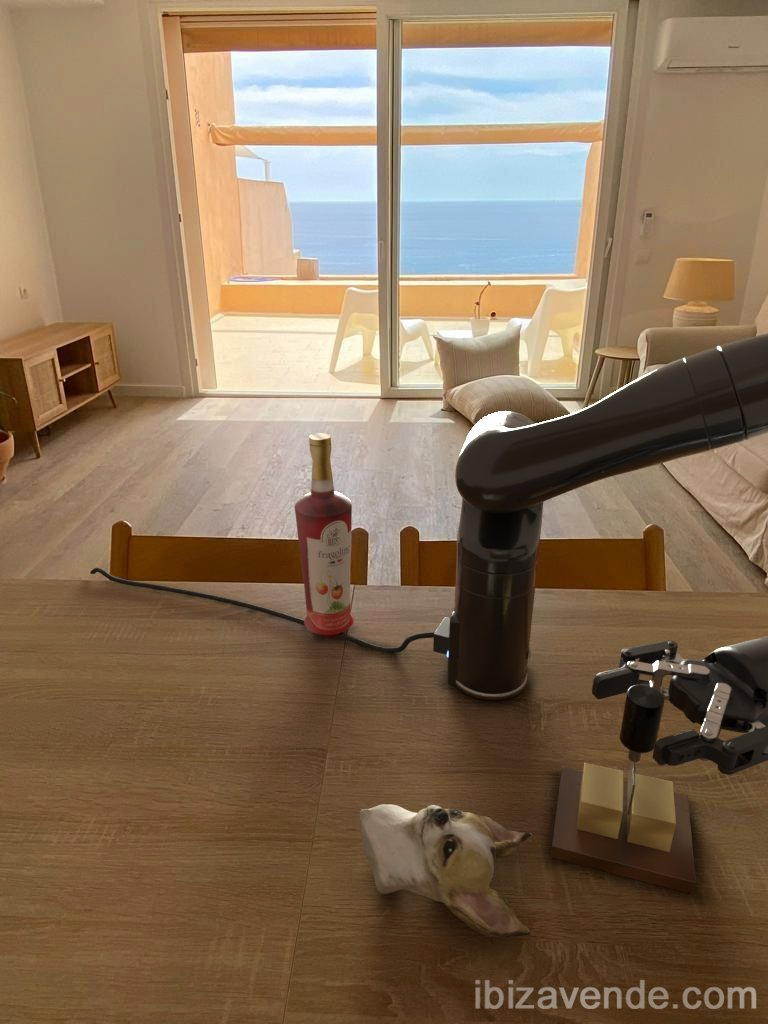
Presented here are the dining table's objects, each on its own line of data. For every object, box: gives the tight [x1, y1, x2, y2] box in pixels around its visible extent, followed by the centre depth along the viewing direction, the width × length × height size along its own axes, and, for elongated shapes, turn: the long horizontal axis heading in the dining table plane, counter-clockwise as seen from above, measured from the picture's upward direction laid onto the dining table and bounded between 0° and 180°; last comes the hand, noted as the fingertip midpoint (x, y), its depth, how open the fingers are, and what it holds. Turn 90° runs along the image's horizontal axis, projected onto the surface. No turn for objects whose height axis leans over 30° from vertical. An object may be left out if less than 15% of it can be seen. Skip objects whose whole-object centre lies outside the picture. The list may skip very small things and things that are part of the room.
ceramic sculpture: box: [358, 803, 533, 938], centre depth 59 cm, size 11×9×15 cm
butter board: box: [550, 762, 697, 895], centre depth 64 cm, size 12×10×5 cm
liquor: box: [294, 432, 355, 638], centre depth 91 cm, size 7×7×28 cm
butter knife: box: [619, 685, 665, 815], centre depth 61 cm, size 3×6×10 cm, turn 162°
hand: (624, 719), depth 59 cm, fingers open, 8 cm apart
